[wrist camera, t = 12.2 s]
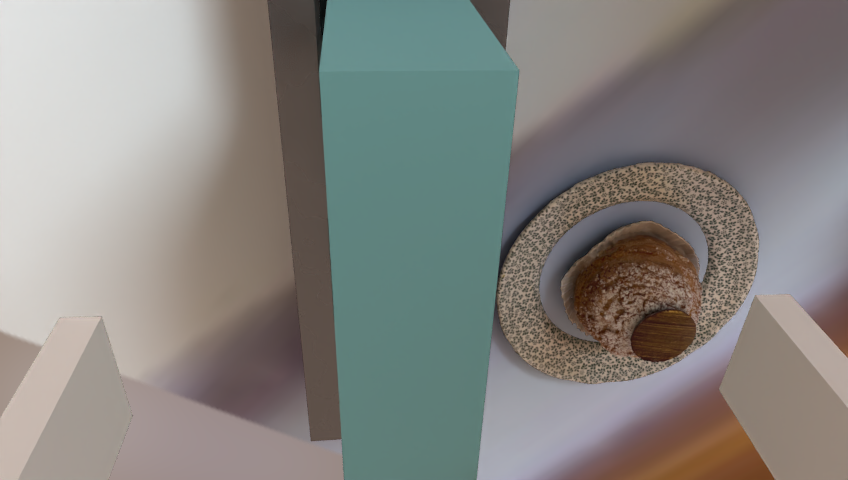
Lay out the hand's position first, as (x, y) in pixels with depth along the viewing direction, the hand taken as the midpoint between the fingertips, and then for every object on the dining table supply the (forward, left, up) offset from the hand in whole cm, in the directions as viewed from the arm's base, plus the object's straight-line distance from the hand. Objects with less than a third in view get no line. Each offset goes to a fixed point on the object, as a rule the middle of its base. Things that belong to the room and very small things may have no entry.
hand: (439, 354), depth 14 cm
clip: (0, 0, -13) cm, 13 cm away
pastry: (+8, +10, -14) cm, 19 cm away
